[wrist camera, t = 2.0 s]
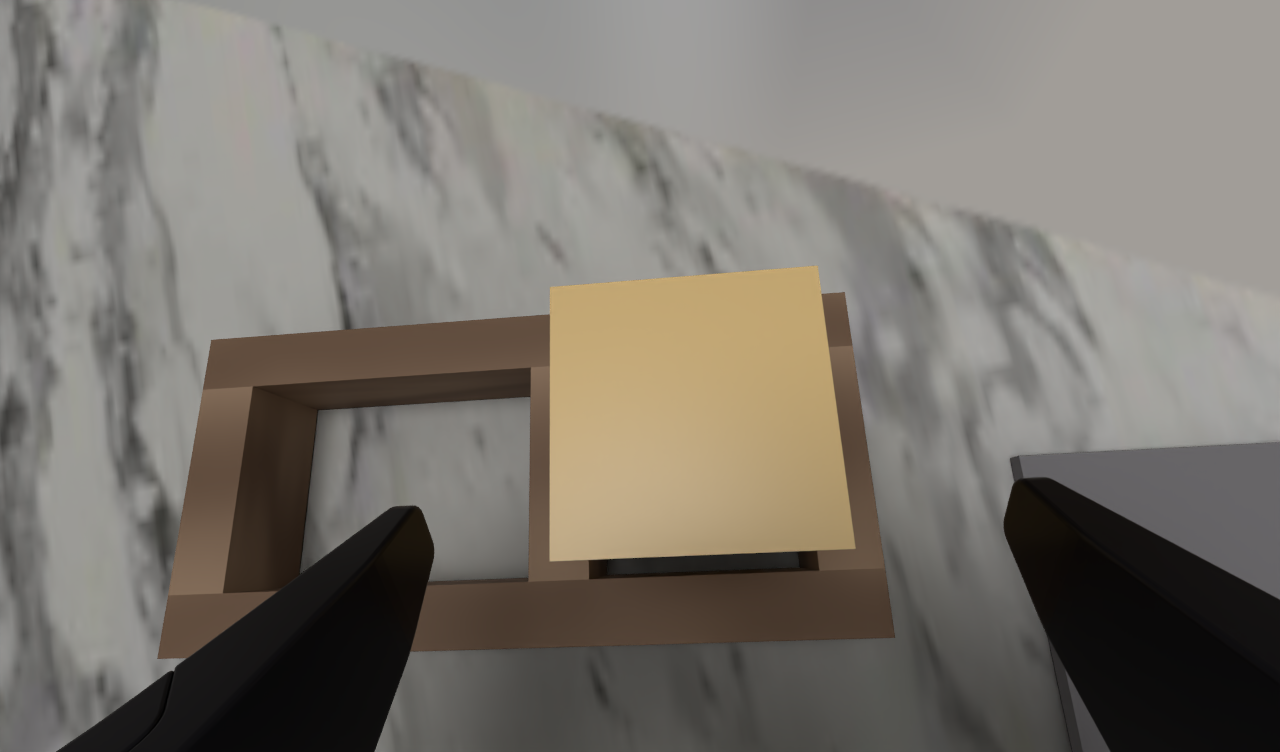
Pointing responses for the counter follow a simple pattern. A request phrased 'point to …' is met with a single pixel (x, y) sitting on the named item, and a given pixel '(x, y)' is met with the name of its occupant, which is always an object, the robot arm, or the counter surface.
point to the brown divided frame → (555, 590)
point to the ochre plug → (694, 418)
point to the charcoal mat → (1177, 518)
